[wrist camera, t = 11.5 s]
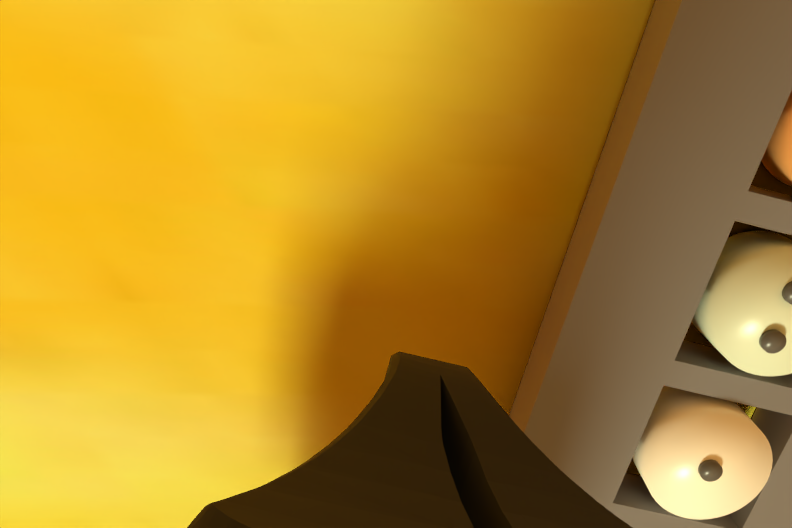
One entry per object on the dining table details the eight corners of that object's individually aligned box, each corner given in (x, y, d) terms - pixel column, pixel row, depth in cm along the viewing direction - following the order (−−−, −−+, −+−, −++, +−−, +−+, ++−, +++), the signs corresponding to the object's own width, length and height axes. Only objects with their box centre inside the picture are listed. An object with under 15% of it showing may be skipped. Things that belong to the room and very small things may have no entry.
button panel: (744, 528, 25) (772, 568, 23) (489, 471, 24) (496, 508, 23) (1000, 36, 19) (1065, 37, 17) (674, -55, 19) (705, -65, 17)
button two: (778, 357, 22) (818, 392, 20) (666, 330, 22) (695, 362, 20) (832, 247, 21) (881, 272, 19) (714, 217, 21) (750, 238, 19)
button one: (713, 489, 24) (744, 534, 22) (609, 466, 24) (629, 509, 22) (759, 395, 23) (797, 433, 21) (649, 369, 23) (676, 405, 20)
